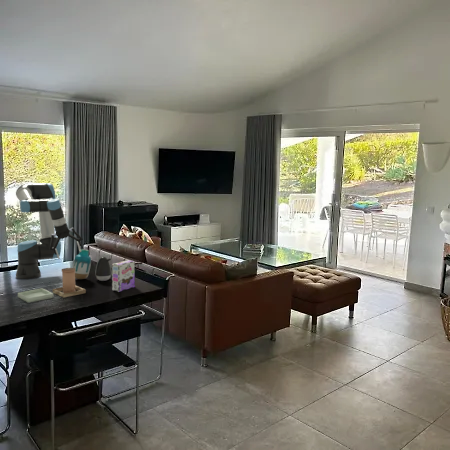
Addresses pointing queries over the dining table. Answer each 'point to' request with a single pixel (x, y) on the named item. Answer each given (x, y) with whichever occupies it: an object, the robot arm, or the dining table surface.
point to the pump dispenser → (103, 269)
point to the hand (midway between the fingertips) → (69, 254)
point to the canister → (68, 280)
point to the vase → (82, 264)
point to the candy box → (123, 275)
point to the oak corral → (80, 291)
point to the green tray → (35, 295)
